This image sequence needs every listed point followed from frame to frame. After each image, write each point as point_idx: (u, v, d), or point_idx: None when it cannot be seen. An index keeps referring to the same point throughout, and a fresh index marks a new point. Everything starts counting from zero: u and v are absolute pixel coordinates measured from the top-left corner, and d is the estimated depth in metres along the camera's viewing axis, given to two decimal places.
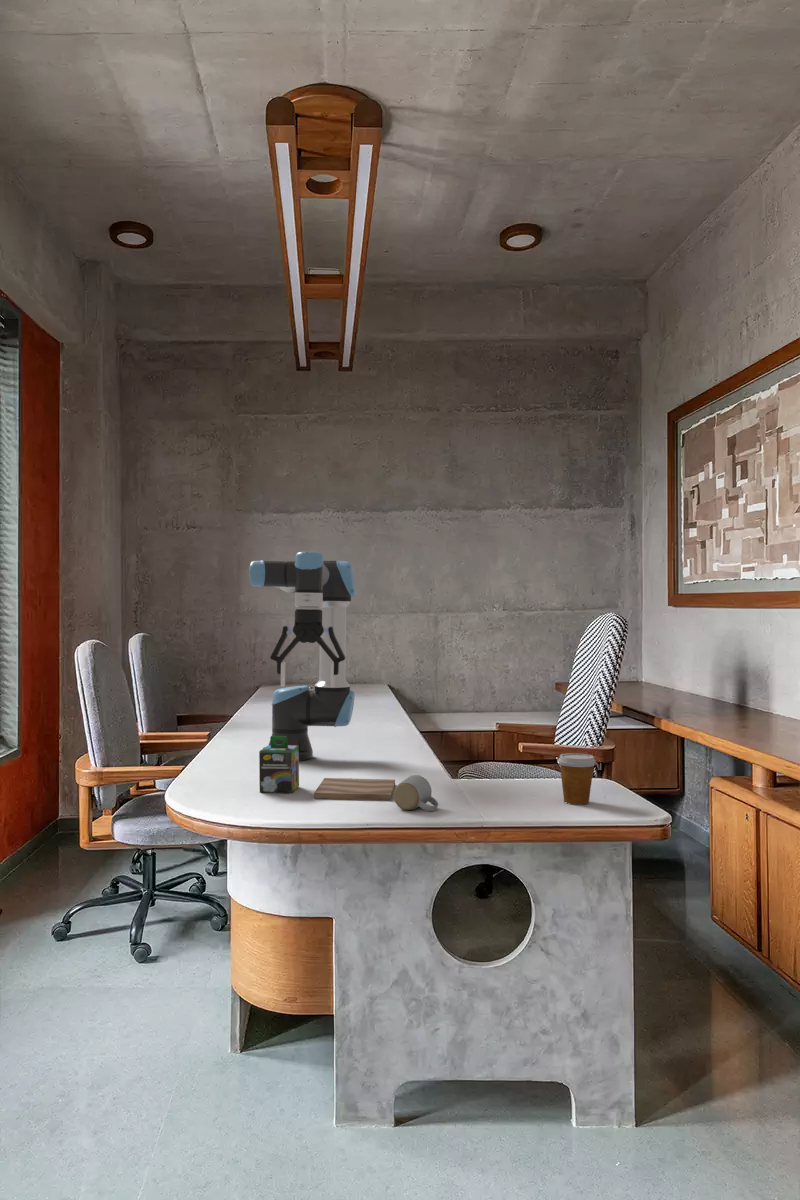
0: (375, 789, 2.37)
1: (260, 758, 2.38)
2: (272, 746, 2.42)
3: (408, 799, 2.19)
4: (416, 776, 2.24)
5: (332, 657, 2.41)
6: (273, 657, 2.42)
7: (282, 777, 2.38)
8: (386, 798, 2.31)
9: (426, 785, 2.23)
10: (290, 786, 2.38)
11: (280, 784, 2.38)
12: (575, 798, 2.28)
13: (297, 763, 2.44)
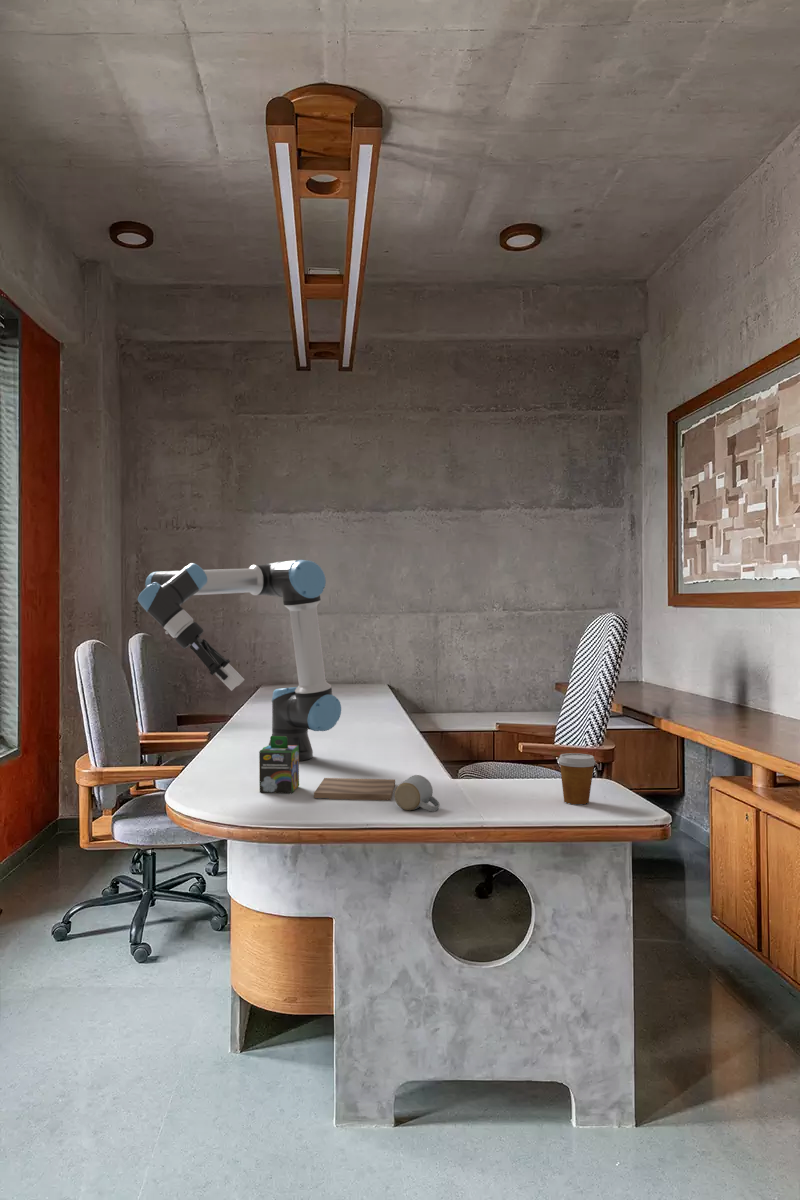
0: (375, 789, 2.37)
1: (260, 758, 2.38)
2: (272, 746, 2.42)
3: (409, 800, 2.18)
4: (417, 776, 2.24)
5: None
6: None
7: (282, 777, 2.38)
8: (386, 798, 2.31)
9: (427, 785, 2.23)
10: (290, 786, 2.38)
11: (280, 784, 2.38)
12: (575, 798, 2.28)
13: (297, 763, 2.44)
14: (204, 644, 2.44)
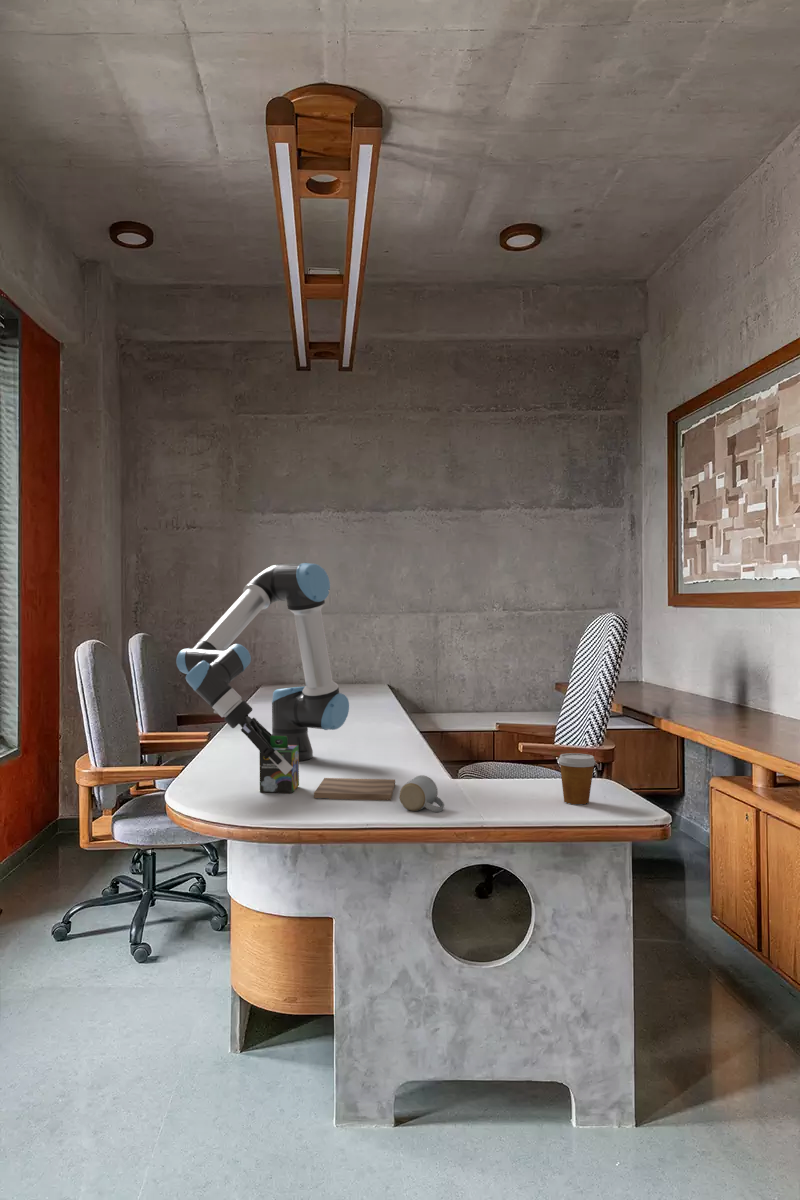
0: (375, 789, 2.37)
1: (260, 758, 2.38)
2: (272, 746, 2.42)
3: (414, 800, 2.18)
4: (422, 777, 2.24)
5: (264, 752, 2.37)
6: None
7: (283, 777, 2.38)
8: (386, 798, 2.31)
9: (432, 785, 2.22)
10: (290, 786, 2.38)
11: (280, 784, 2.38)
12: (575, 798, 2.28)
13: (297, 763, 2.44)
14: (254, 724, 2.40)
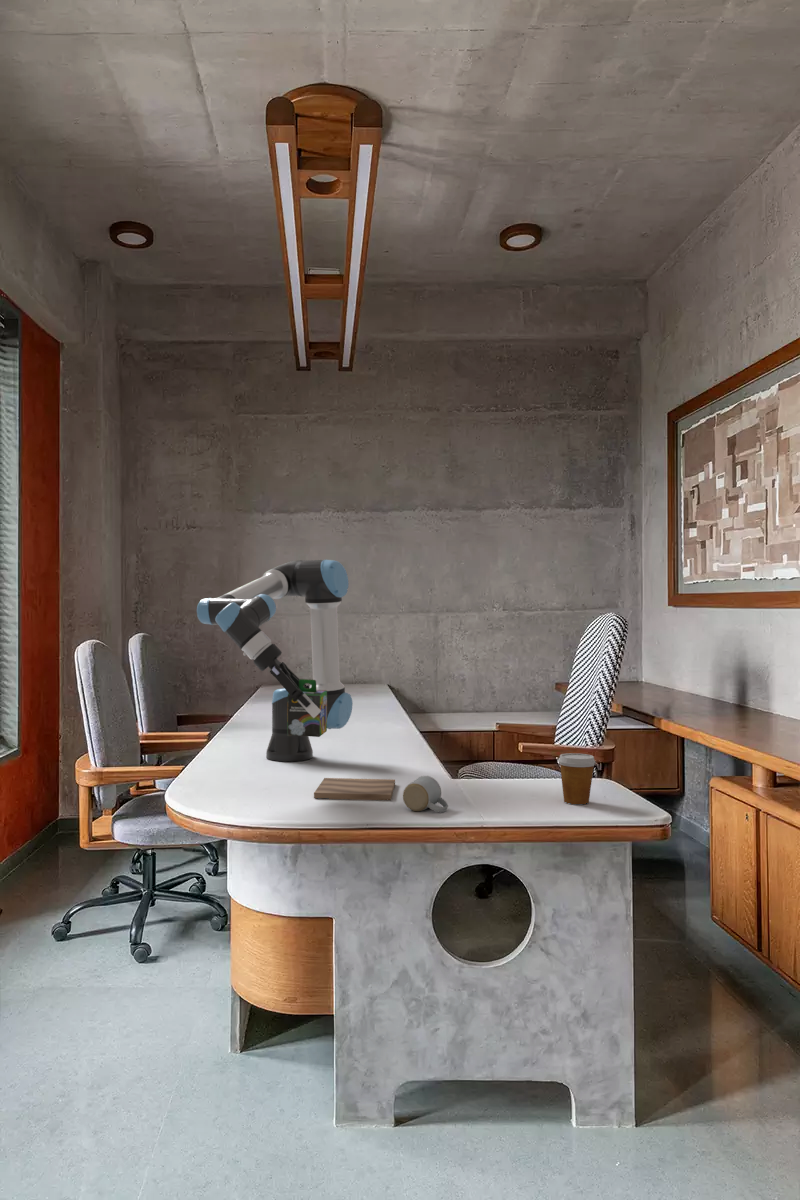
0: (375, 789, 2.37)
1: (288, 701, 2.36)
2: None
3: (418, 800, 2.18)
4: (426, 777, 2.23)
5: None
6: None
7: (311, 720, 2.36)
8: (386, 798, 2.31)
9: (436, 785, 2.22)
10: (318, 729, 2.36)
11: (308, 728, 2.36)
12: (575, 798, 2.28)
13: (325, 708, 2.42)
14: (283, 667, 2.38)
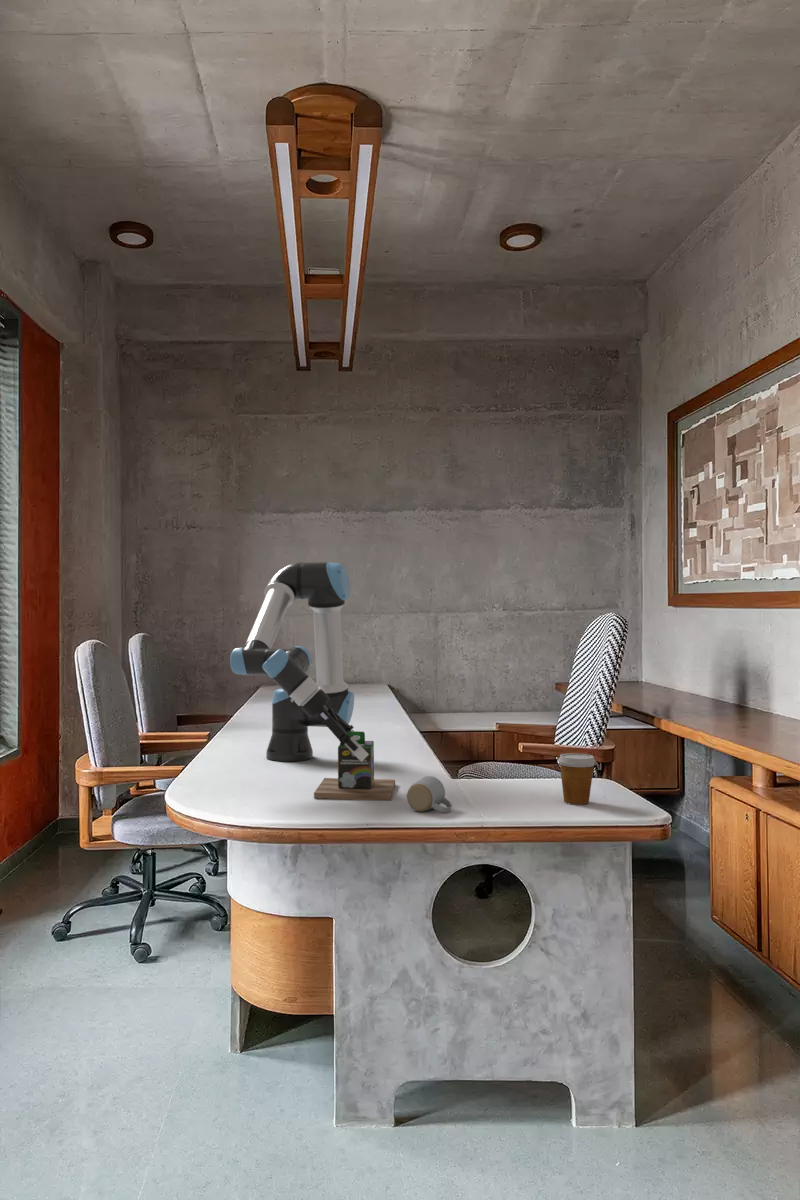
0: (375, 789, 2.37)
1: (339, 754, 2.37)
2: None
3: (422, 801, 2.17)
4: (430, 777, 2.23)
5: None
6: None
7: (362, 773, 2.37)
8: (386, 798, 2.31)
9: (440, 786, 2.21)
10: (369, 781, 2.37)
11: (359, 780, 2.37)
12: (575, 798, 2.28)
13: (373, 759, 2.44)
14: (331, 713, 2.39)
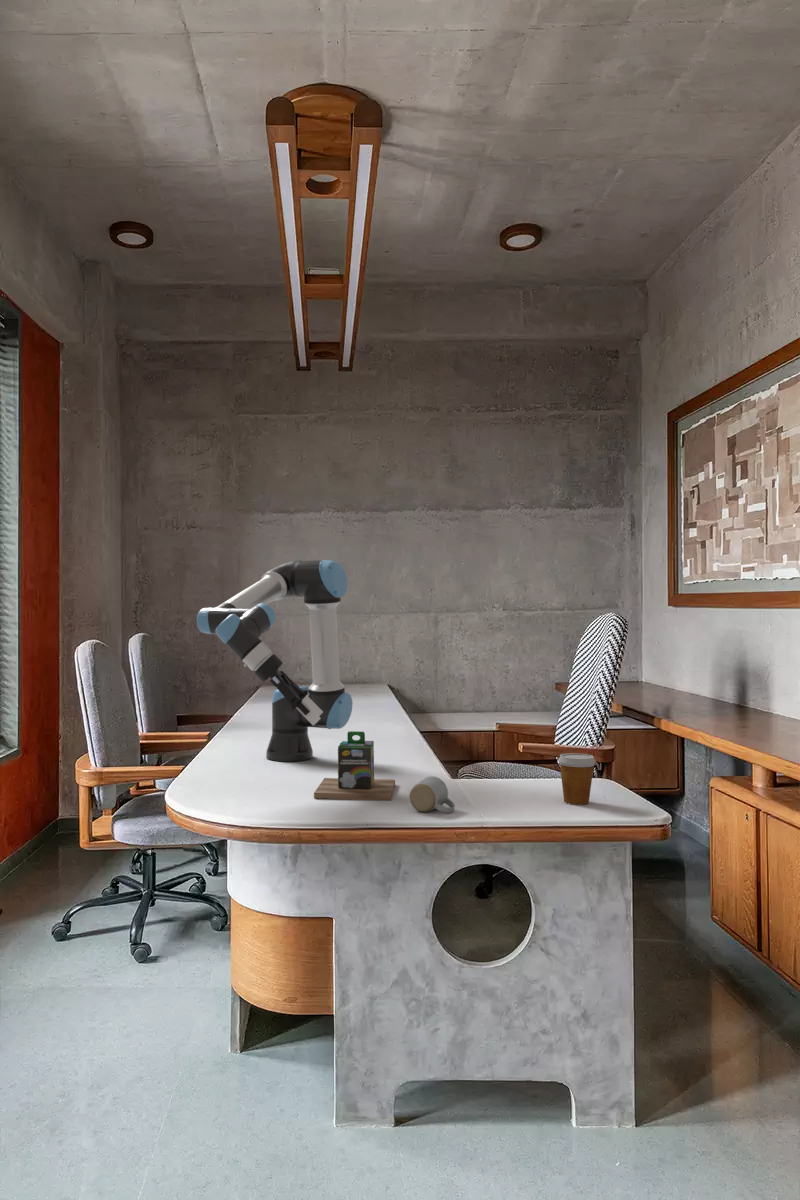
0: (375, 789, 2.37)
1: (339, 754, 2.37)
2: (349, 742, 2.41)
3: (424, 801, 2.17)
4: (432, 777, 2.23)
5: None
6: None
7: (362, 773, 2.37)
8: (386, 798, 2.31)
9: (442, 786, 2.21)
10: (369, 781, 2.37)
11: (359, 780, 2.37)
12: (575, 798, 2.28)
13: (373, 759, 2.44)
14: (284, 677, 2.38)
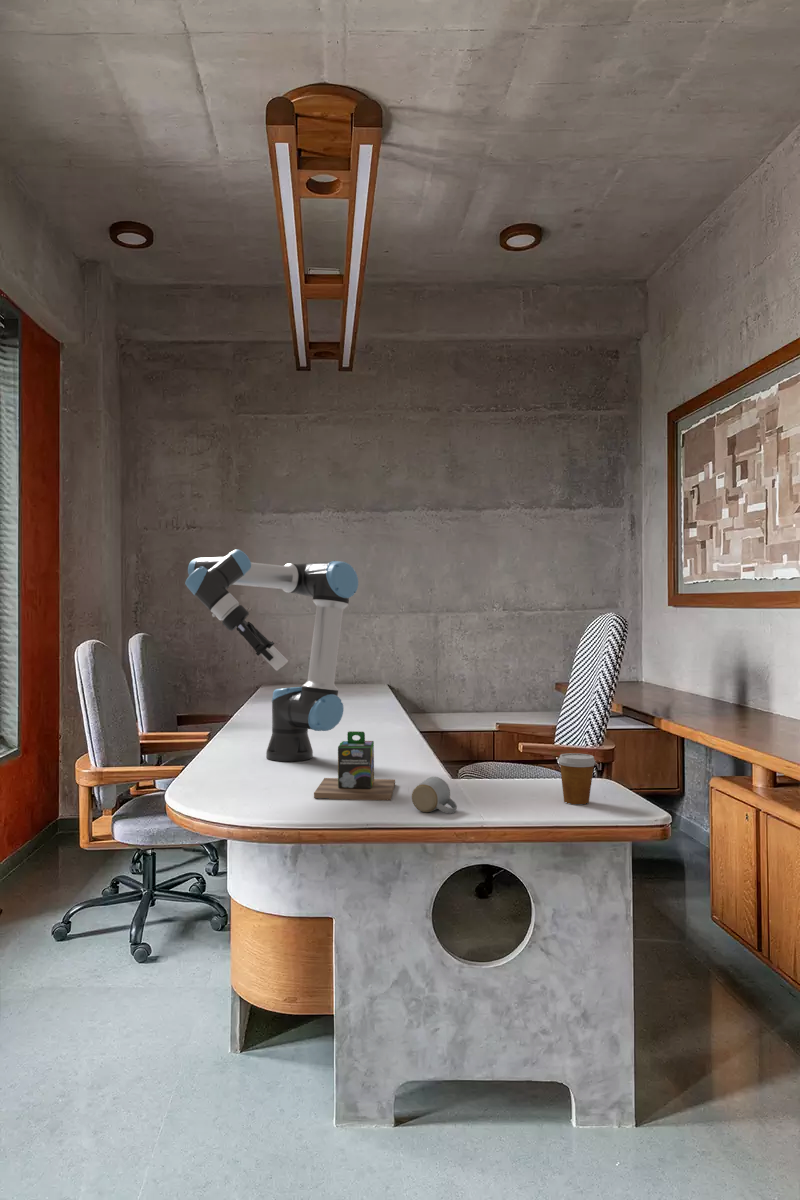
0: (375, 789, 2.37)
1: (339, 754, 2.37)
2: (349, 742, 2.41)
3: (427, 801, 2.17)
4: (435, 778, 2.22)
5: None
6: None
7: (362, 773, 2.37)
8: (386, 798, 2.31)
9: (445, 786, 2.21)
10: (369, 781, 2.37)
11: (359, 780, 2.37)
12: (575, 798, 2.28)
13: (373, 759, 2.44)
14: (250, 626, 2.52)
